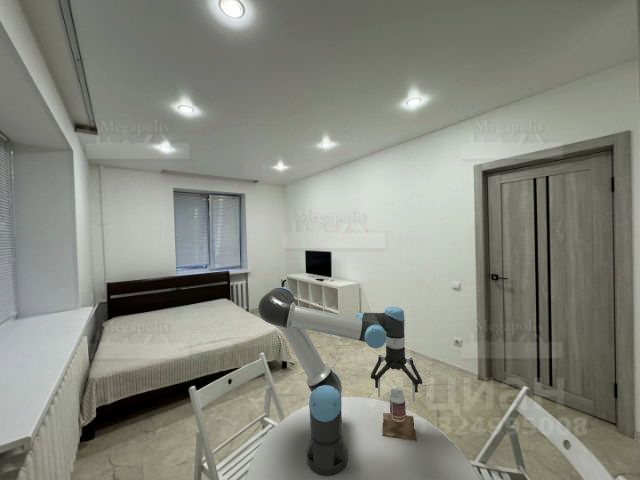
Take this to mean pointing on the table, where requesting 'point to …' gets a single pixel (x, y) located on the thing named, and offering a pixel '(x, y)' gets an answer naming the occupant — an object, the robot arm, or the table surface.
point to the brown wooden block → (398, 428)
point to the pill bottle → (397, 405)
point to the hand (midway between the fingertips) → (396, 397)
